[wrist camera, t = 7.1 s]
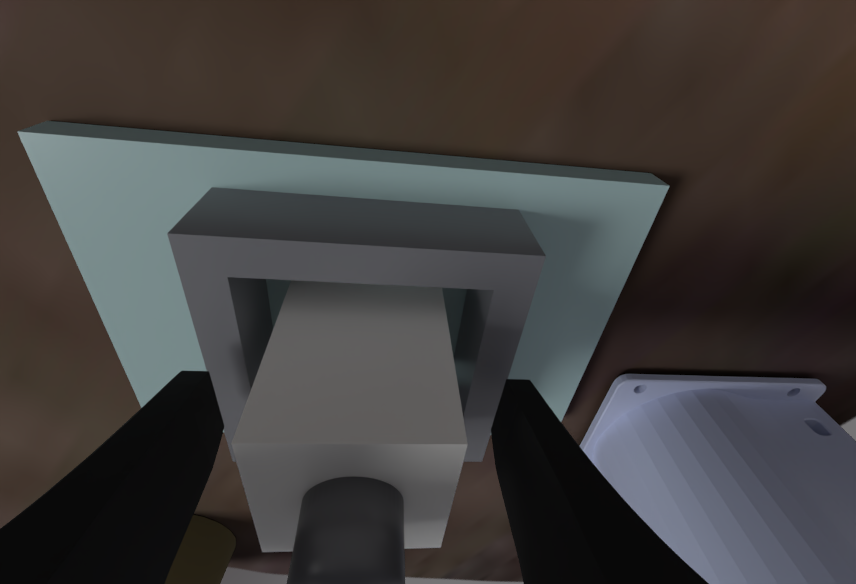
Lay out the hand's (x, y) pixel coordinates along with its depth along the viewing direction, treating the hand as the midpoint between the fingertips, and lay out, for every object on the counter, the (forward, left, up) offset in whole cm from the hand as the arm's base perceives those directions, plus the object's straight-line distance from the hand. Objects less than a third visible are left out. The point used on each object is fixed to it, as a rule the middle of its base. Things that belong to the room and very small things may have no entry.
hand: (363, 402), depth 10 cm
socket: (0, 0, -4) cm, 4 cm away
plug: (0, 0, -3) cm, 3 cm away
